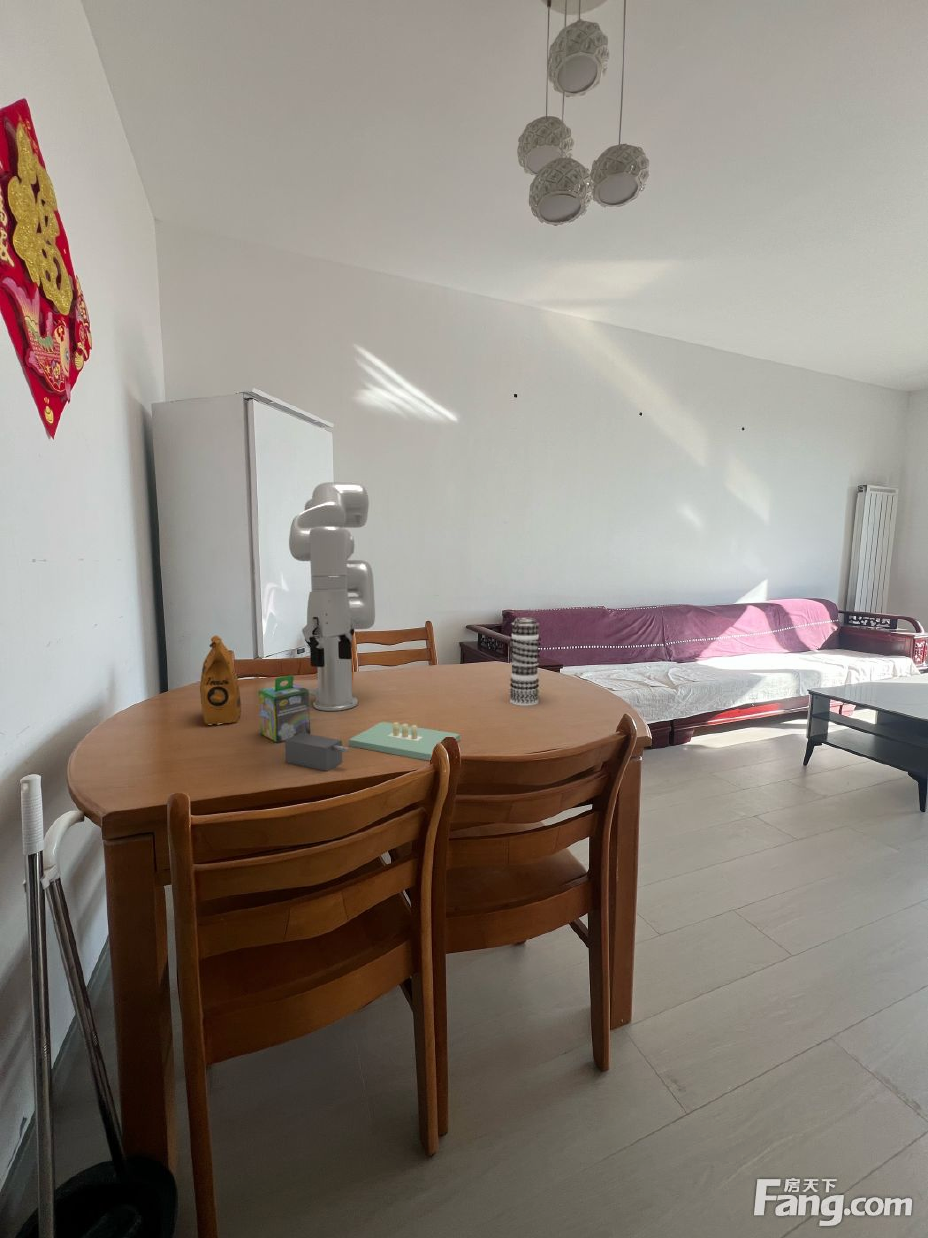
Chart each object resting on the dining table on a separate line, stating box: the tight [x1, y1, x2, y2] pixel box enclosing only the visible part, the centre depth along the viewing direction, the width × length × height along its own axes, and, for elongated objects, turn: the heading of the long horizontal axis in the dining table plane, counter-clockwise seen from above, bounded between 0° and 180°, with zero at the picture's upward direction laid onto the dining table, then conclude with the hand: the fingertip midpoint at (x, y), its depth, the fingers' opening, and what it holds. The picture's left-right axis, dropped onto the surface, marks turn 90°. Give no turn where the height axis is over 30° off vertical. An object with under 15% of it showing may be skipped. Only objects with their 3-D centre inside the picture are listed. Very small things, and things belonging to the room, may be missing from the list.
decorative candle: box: [509, 617, 542, 707], centre depth 159 cm, size 9×9×25 cm
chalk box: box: [257, 674, 311, 744], centre depth 132 cm, size 9×9×15 cm
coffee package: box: [199, 635, 242, 725], centre depth 144 cm, size 10×12×22 cm
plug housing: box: [284, 733, 349, 772], centre depth 115 cm, size 14×5×5 cm, turn 66°
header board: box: [348, 721, 461, 762], centre depth 127 cm, size 22×14×4 cm, turn 66°
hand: (331, 662), depth 118 cm, fingers open, 9 cm apart
